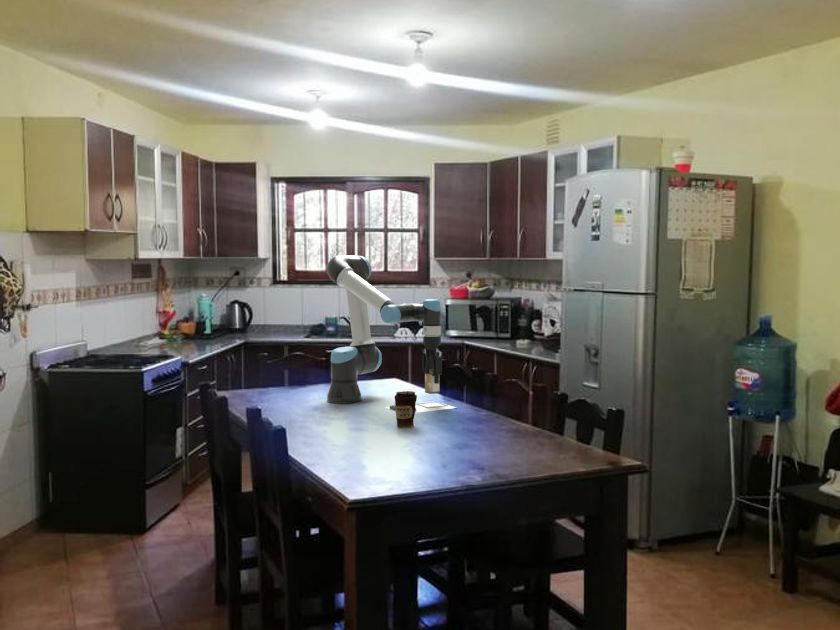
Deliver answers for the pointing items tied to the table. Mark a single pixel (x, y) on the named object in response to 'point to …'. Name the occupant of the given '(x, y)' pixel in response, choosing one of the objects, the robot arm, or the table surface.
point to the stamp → (429, 383)
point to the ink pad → (394, 408)
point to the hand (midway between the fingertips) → (432, 389)
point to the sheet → (429, 406)
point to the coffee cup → (405, 408)
